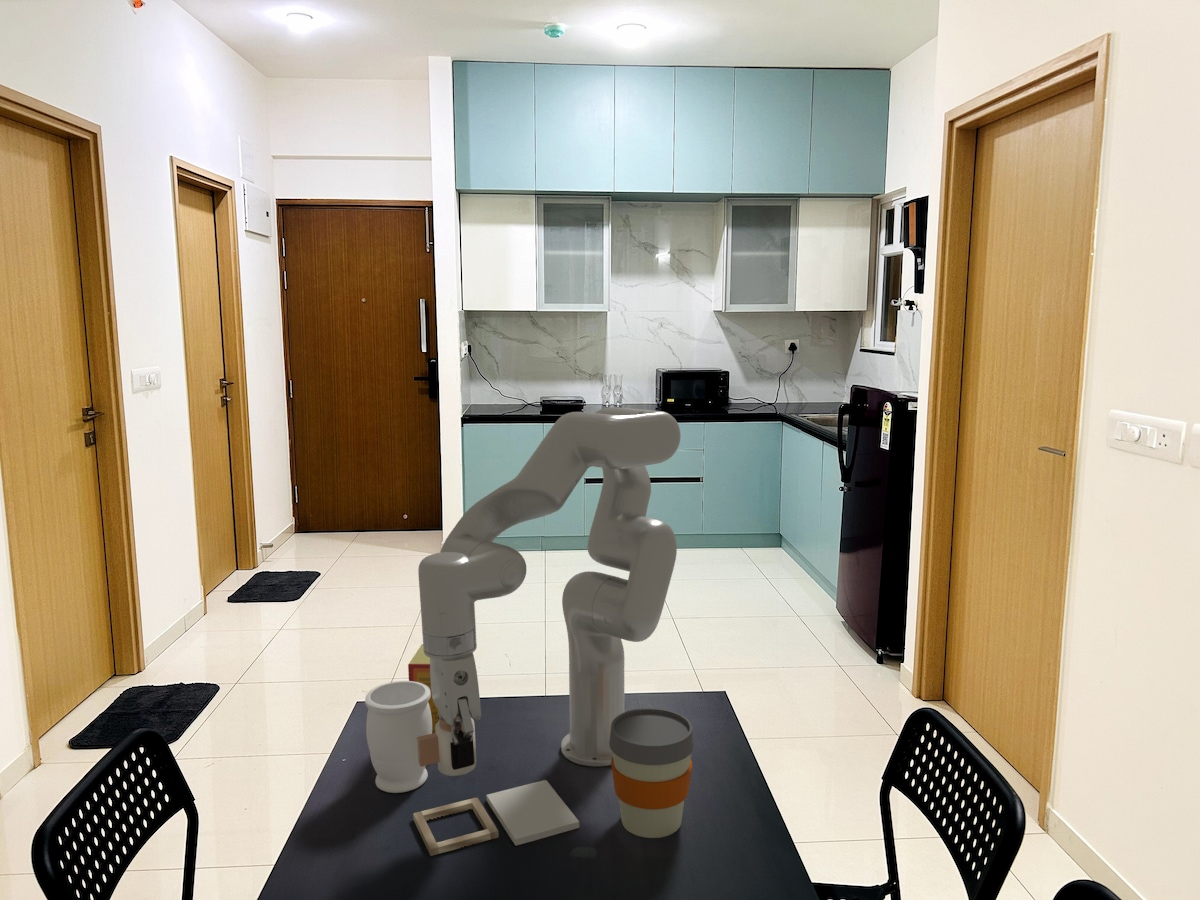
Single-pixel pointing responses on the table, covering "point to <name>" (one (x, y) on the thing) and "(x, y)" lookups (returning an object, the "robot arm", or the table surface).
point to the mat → (532, 812)
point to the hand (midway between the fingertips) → (456, 755)
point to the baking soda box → (423, 678)
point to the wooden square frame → (459, 841)
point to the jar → (397, 733)
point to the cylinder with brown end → (442, 749)
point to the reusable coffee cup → (651, 769)
